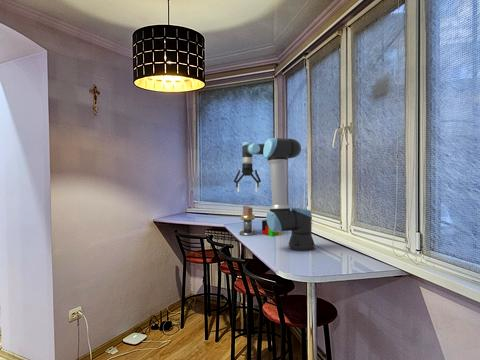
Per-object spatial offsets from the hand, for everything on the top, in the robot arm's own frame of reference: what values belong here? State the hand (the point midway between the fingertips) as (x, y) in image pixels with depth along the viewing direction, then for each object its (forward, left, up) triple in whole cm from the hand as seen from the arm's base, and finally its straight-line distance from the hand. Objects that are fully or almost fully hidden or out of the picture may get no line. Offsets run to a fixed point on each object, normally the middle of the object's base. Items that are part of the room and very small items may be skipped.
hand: (247, 192), depth 230 cm
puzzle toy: (-9, -16, -31) cm, 36 cm away
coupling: (-5, +1, -19) cm, 20 cm away
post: (-5, +1, -30) cm, 31 cm away
